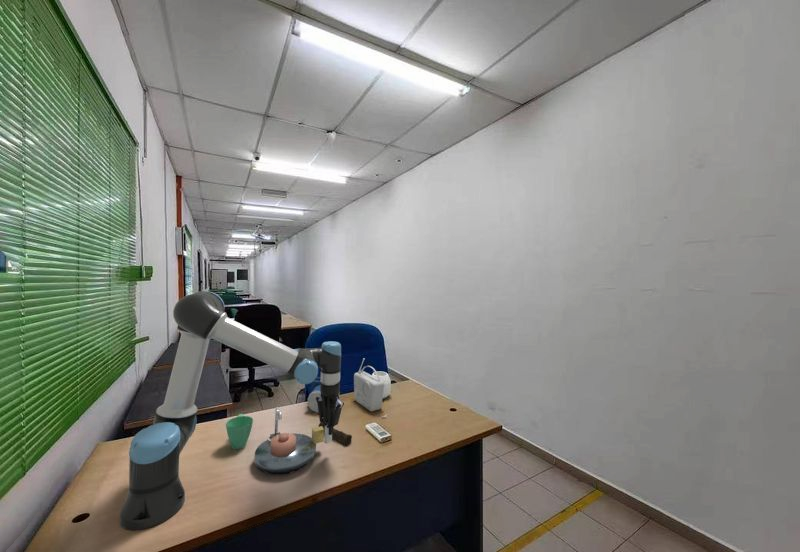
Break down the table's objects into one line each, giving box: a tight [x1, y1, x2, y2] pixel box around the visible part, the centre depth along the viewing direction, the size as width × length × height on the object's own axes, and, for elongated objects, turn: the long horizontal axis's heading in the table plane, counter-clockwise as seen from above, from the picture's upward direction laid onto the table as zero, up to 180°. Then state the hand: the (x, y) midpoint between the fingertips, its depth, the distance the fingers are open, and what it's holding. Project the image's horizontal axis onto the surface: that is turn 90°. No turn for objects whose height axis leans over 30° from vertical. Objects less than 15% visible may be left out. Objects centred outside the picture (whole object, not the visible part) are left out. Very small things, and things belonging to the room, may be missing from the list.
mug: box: [225, 413, 254, 450], centre depth 130 cm, size 15×10×10 cm
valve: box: [307, 376, 341, 414], centre depth 165 cm, size 13×15×15 cm
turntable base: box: [262, 463, 308, 476], centre depth 120 cm, size 18×18×2 cm
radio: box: [353, 357, 384, 412], centre depth 171 cm, size 22×8×25 cm, turn 37°
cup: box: [371, 370, 392, 400], centre depth 184 cm, size 13×13×14 cm
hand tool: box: [317, 421, 353, 446], centre depth 138 cm, size 19×4×5 cm, turn 53°
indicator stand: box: [269, 406, 283, 439], centre depth 132 cm, size 10×4×14 cm, turn 33°
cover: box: [270, 432, 296, 457], centre depth 119 cm, size 9×9×6 cm
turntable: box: [254, 426, 324, 472], centre depth 121 cm, size 24×22×7 cm
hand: (328, 441), depth 123 cm, fingers closed
